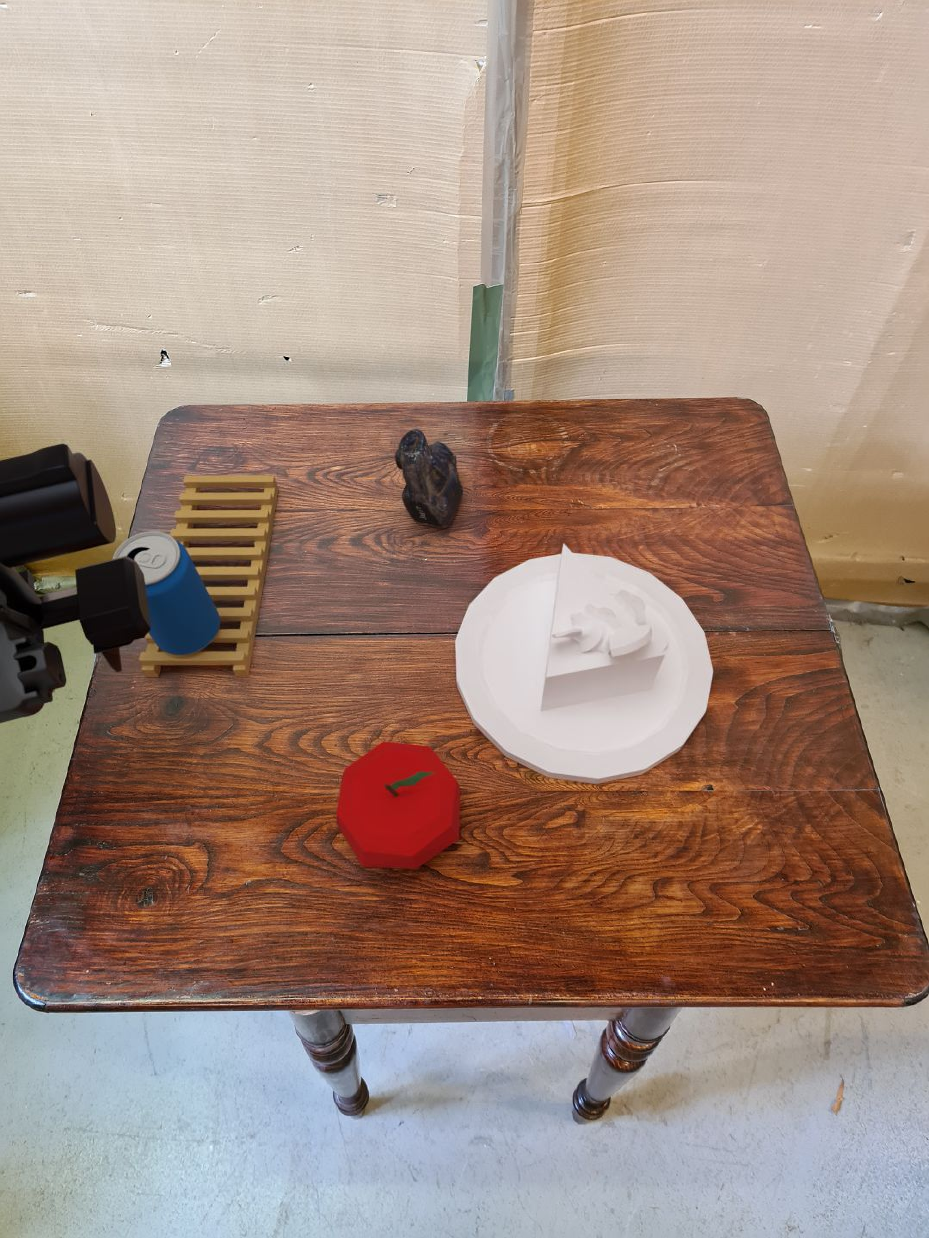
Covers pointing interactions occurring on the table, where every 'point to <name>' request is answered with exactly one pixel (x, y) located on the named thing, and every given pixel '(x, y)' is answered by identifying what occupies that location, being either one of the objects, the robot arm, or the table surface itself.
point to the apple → (398, 806)
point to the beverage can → (173, 593)
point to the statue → (428, 480)
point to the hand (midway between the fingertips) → (59, 682)
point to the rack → (253, 574)
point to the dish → (583, 667)
